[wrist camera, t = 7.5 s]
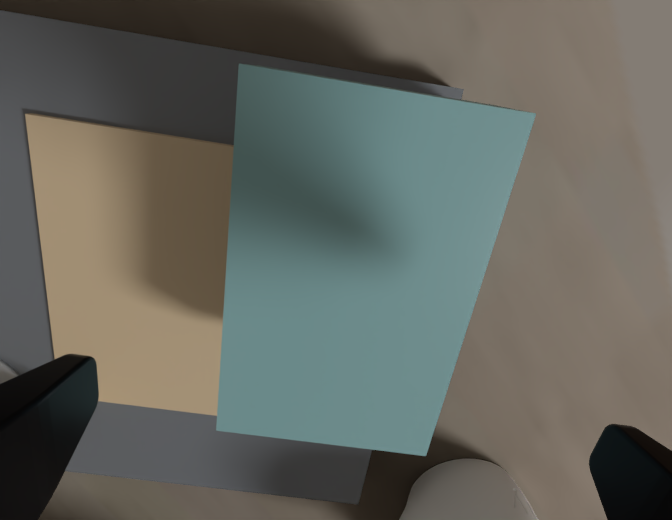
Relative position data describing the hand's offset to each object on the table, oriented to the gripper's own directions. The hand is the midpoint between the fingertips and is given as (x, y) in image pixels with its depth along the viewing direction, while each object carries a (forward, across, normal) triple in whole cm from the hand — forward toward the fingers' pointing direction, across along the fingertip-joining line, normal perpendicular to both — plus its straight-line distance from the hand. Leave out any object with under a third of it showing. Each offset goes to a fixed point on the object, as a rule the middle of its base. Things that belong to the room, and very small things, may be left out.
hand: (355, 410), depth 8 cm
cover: (+7, 0, 0) cm, 7 cm away
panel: (+11, +8, +4) cm, 14 cm away
